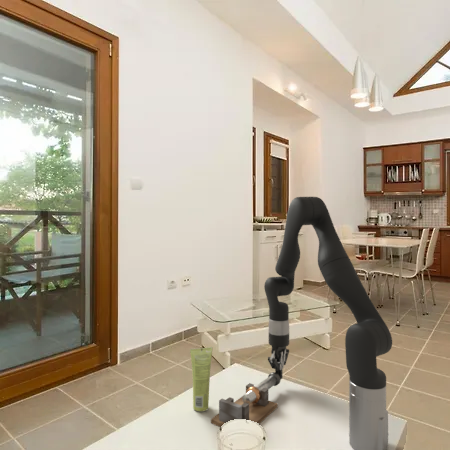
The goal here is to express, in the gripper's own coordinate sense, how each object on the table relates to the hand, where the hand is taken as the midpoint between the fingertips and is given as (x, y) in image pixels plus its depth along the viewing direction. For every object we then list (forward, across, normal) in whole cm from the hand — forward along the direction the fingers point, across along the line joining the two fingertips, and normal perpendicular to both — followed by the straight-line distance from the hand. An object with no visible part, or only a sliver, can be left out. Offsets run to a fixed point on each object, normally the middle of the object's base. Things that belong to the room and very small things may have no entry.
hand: (278, 378), depth 129 cm
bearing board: (+4, -22, 0) cm, 23 cm away
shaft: (+1, -12, 0) cm, 12 cm away
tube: (+4, -28, +14) cm, 31 cm away
